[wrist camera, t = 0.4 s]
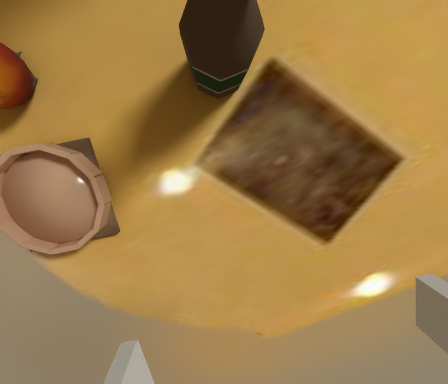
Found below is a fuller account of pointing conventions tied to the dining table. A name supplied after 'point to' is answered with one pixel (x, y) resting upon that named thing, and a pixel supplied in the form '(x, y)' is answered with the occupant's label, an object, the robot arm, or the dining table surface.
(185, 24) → the beer bottle
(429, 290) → the robot arm
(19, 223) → the bowl
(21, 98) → the fruit
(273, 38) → the dining table surface
